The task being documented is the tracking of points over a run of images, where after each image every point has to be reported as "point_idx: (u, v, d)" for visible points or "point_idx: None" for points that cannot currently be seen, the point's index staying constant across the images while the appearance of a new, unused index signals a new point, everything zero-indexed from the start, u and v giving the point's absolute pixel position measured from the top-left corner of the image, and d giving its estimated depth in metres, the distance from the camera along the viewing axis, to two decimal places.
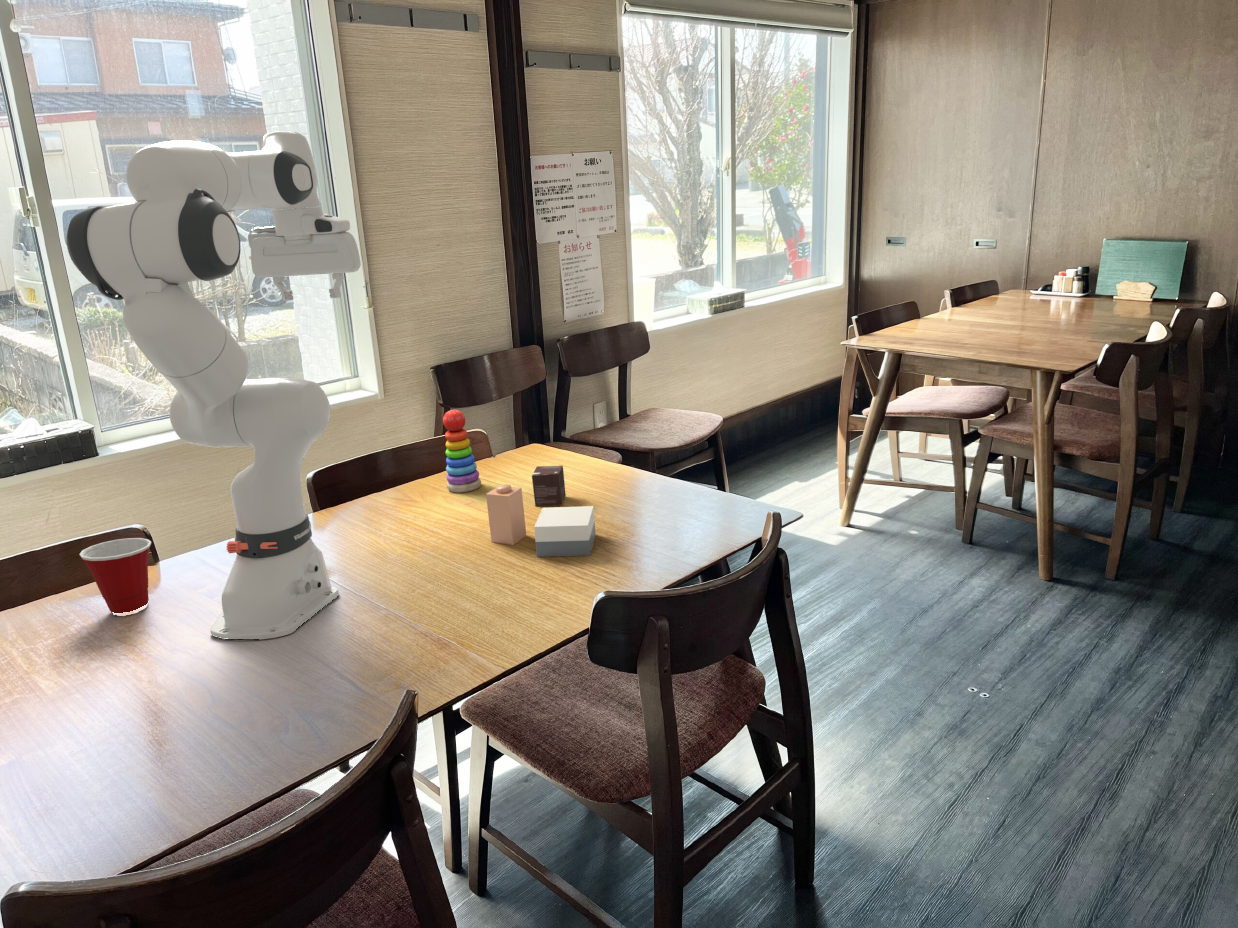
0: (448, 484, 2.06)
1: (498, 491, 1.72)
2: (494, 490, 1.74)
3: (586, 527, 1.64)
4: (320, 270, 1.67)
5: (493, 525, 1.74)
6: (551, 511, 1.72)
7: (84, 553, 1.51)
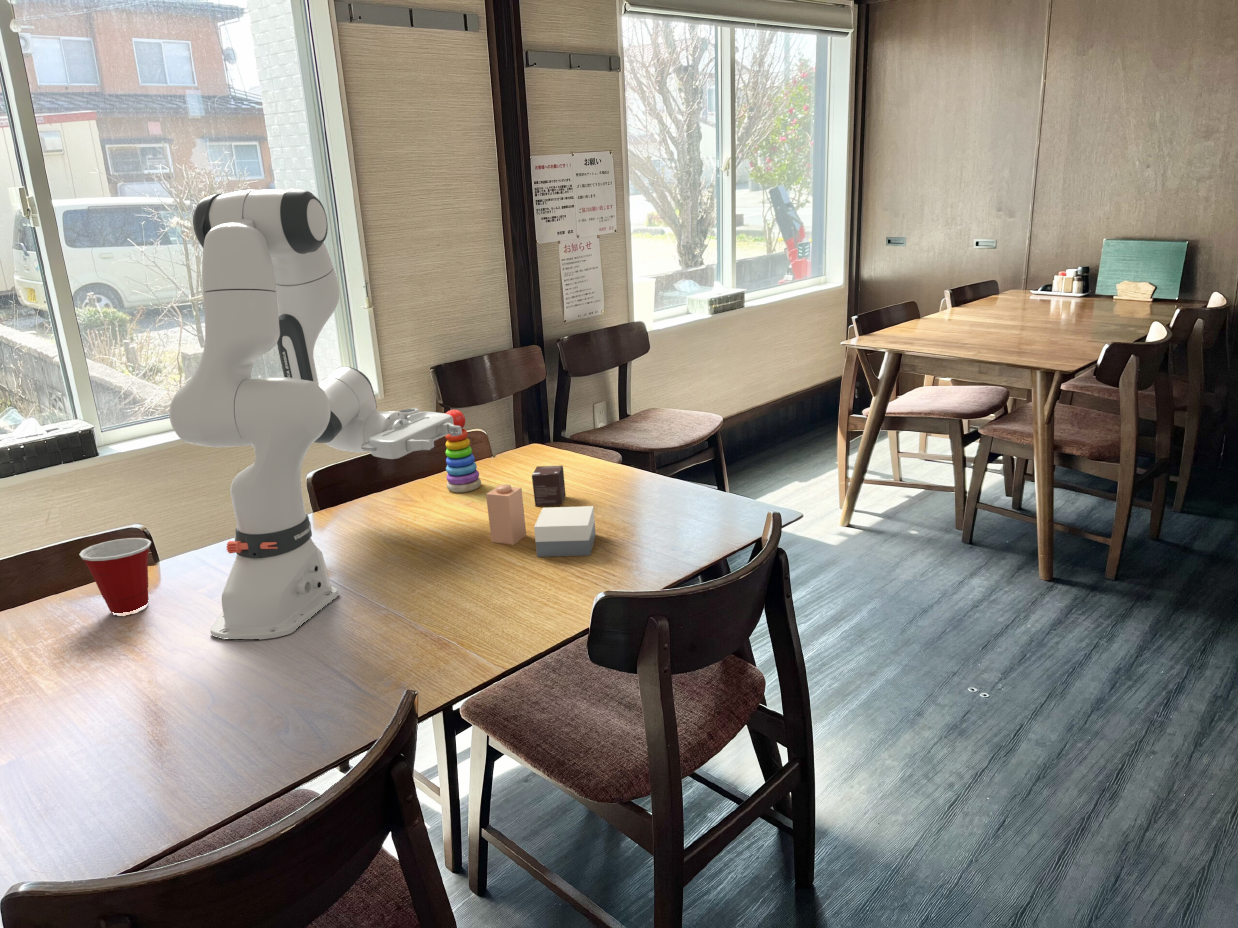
0: (448, 484, 2.06)
1: (498, 491, 1.72)
2: (494, 490, 1.74)
3: (586, 527, 1.64)
4: (432, 422, 1.80)
5: (493, 525, 1.74)
6: (551, 511, 1.72)
7: (84, 553, 1.51)
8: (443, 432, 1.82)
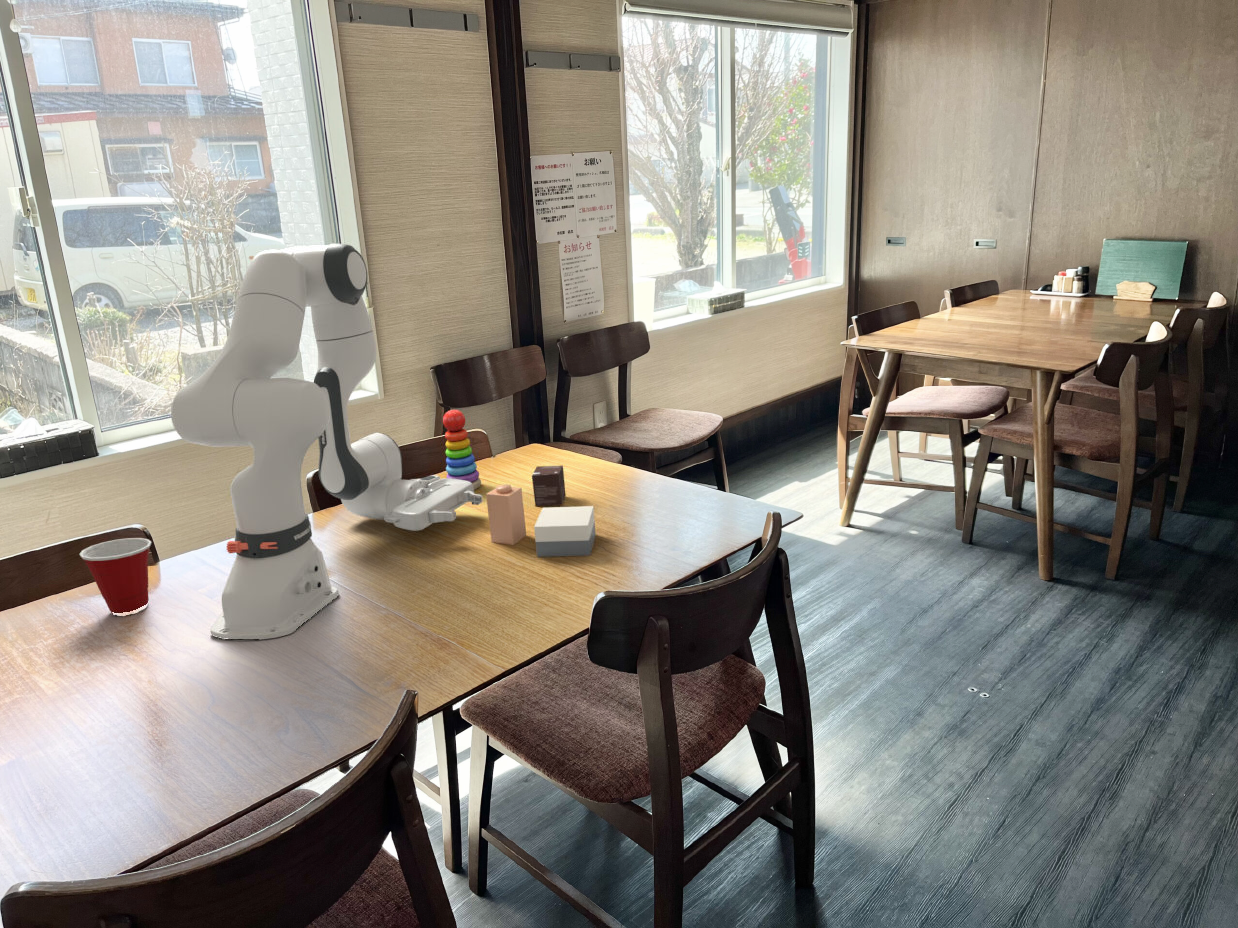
0: None
1: (498, 491, 1.72)
2: (494, 490, 1.74)
3: (586, 527, 1.64)
4: (453, 491, 1.83)
5: (493, 525, 1.74)
6: (551, 511, 1.72)
7: (84, 553, 1.51)
8: (464, 500, 1.85)
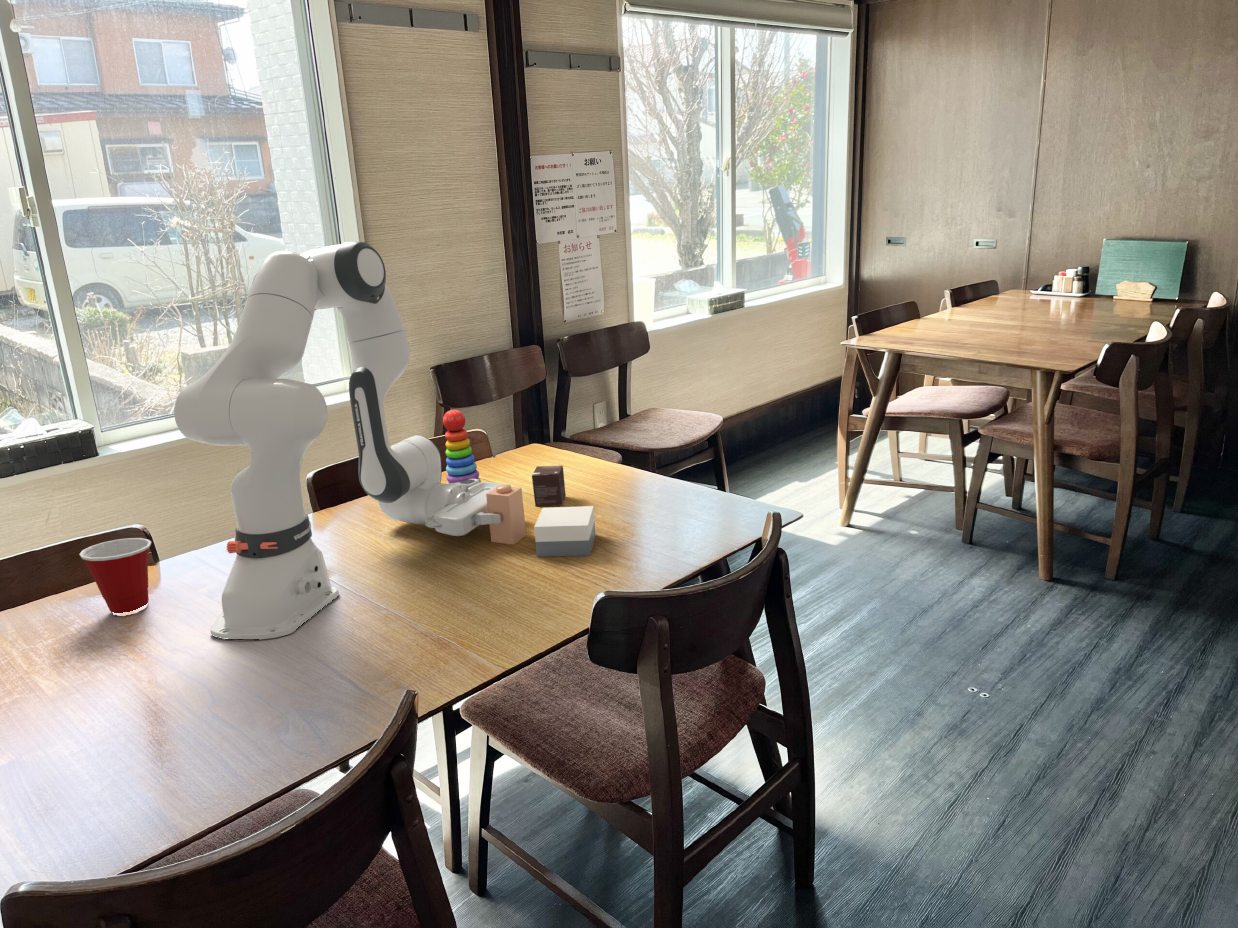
0: None
1: (498, 491, 1.72)
2: (494, 490, 1.74)
3: (586, 527, 1.64)
4: None
5: (493, 525, 1.74)
6: (551, 511, 1.72)
7: (84, 553, 1.51)
8: None
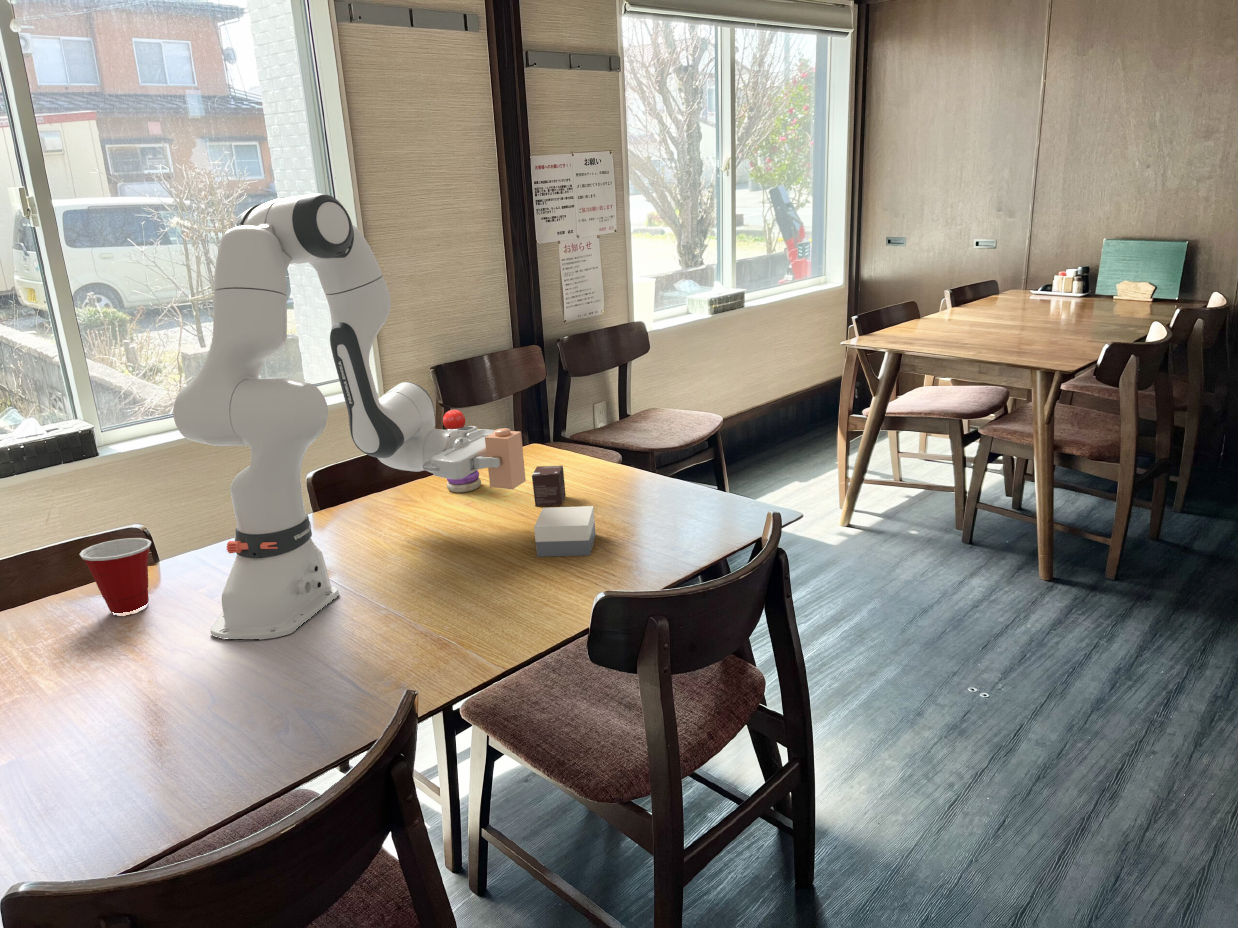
0: (448, 484, 2.06)
1: (497, 435, 1.68)
2: (493, 434, 1.70)
3: (586, 527, 1.64)
4: None
5: (492, 469, 1.70)
6: (551, 511, 1.72)
7: (84, 553, 1.51)
8: None
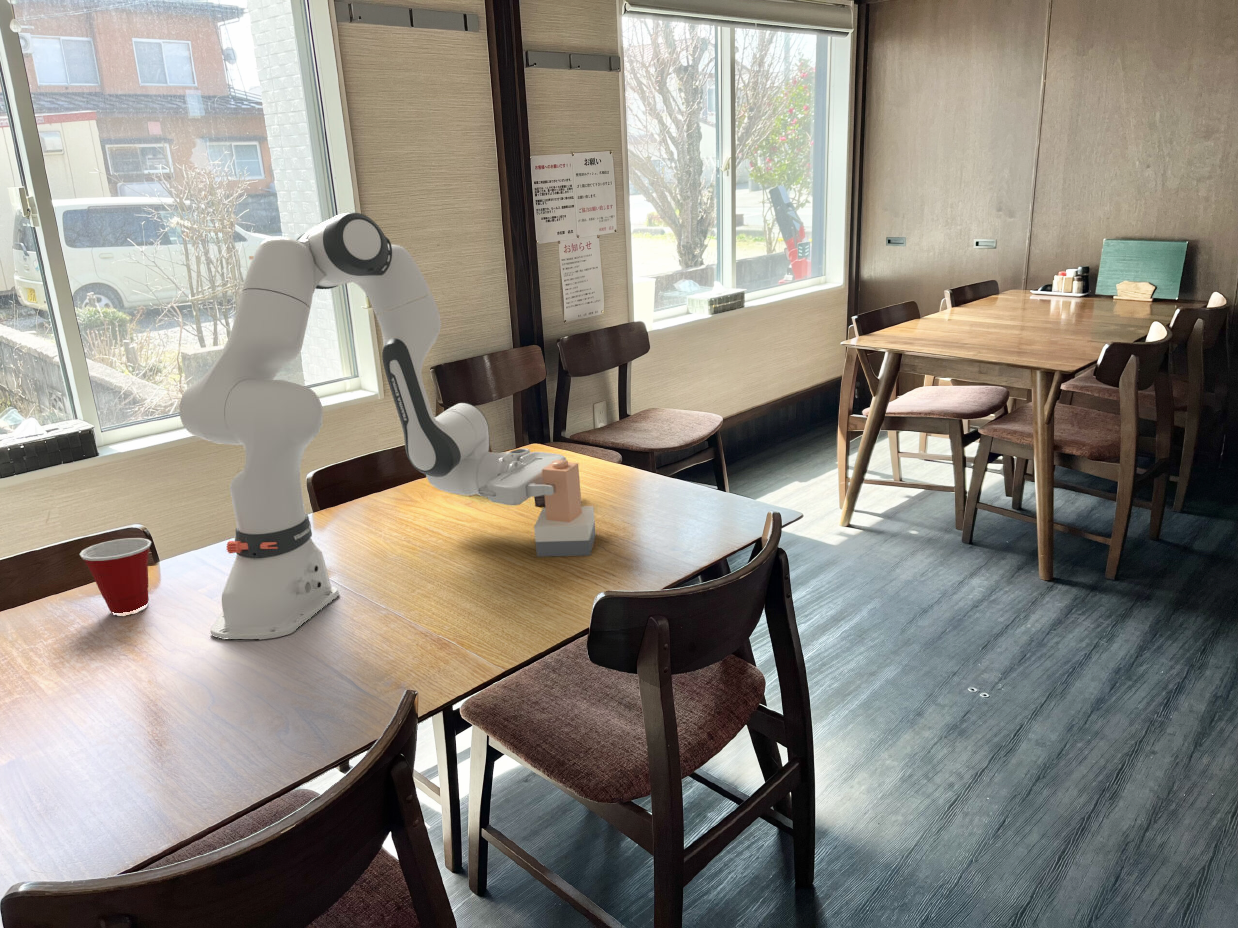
0: None
1: (555, 466, 1.65)
2: (550, 465, 1.67)
3: (586, 527, 1.64)
4: None
5: (549, 502, 1.67)
6: None
7: (84, 553, 1.51)
8: None
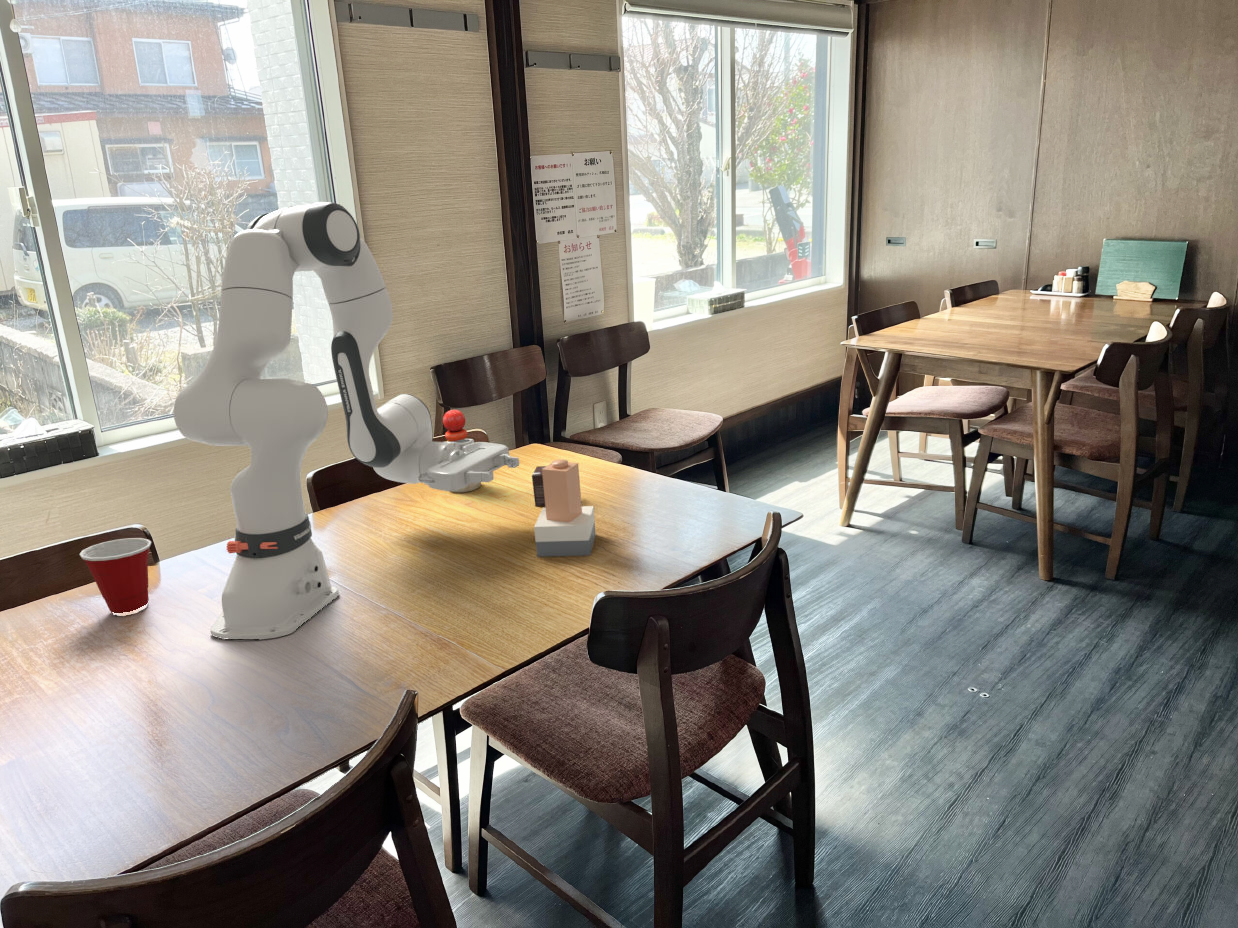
0: None
1: (555, 466, 1.65)
2: (550, 465, 1.67)
3: (586, 527, 1.64)
4: (489, 454, 1.76)
5: (549, 502, 1.67)
6: None
7: (84, 553, 1.51)
8: (499, 463, 1.78)
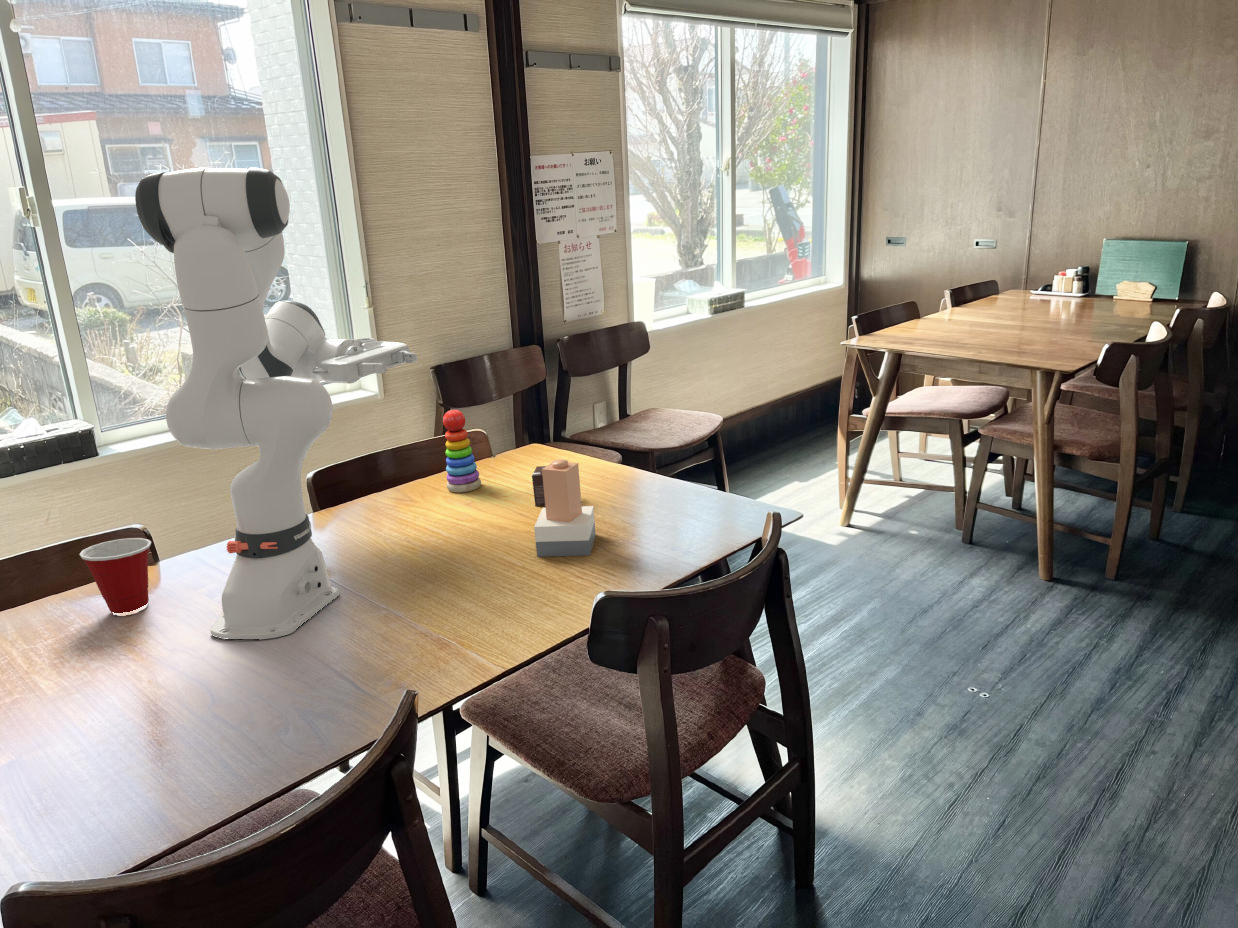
0: (448, 484, 2.06)
1: (555, 466, 1.65)
2: (550, 465, 1.67)
3: (586, 527, 1.64)
4: (387, 349, 1.77)
5: (549, 502, 1.67)
6: None
7: (84, 553, 1.51)
8: (398, 360, 1.79)
